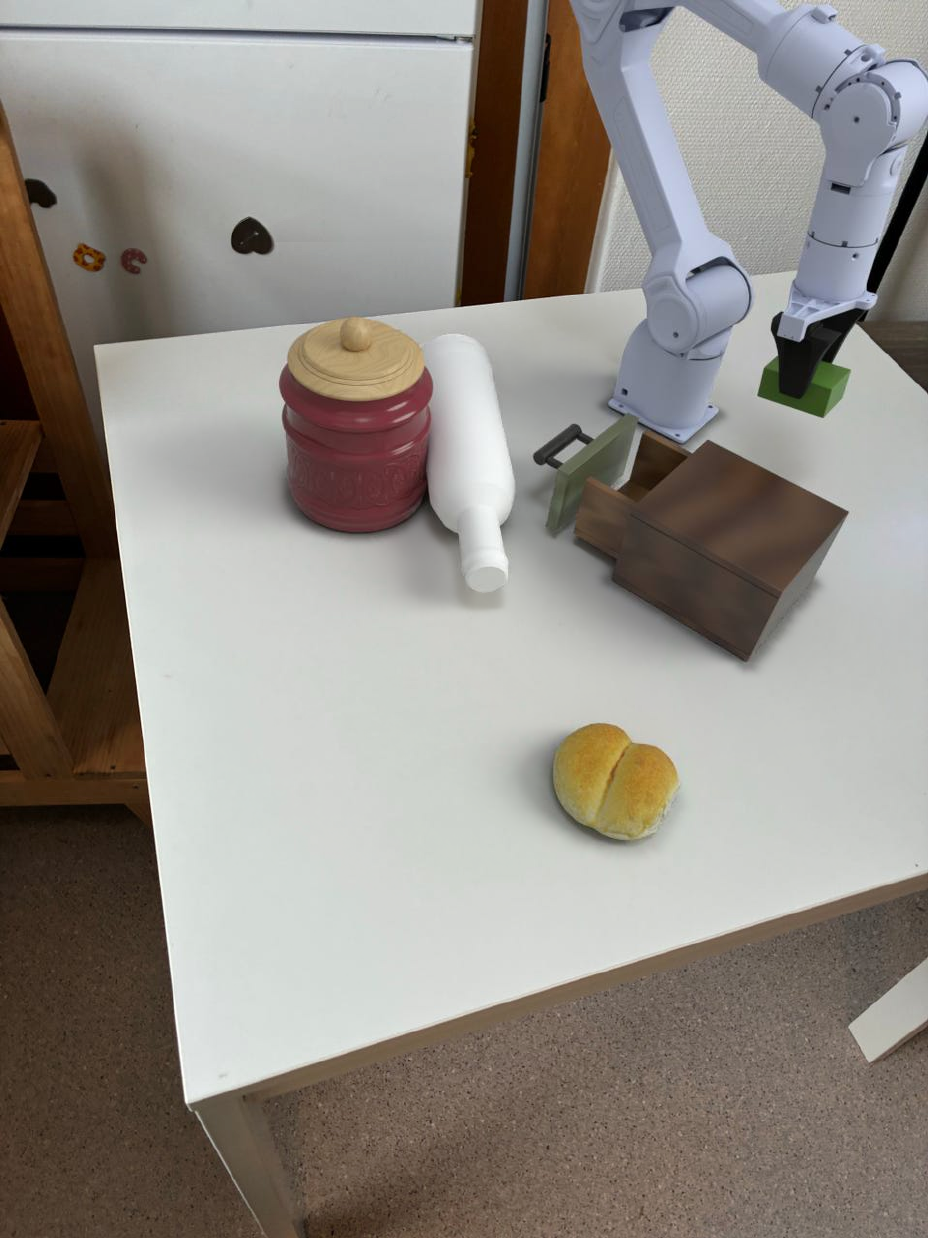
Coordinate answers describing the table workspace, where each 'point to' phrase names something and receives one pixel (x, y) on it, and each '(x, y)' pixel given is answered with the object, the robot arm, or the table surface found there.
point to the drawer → (605, 479)
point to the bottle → (469, 457)
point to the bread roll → (614, 782)
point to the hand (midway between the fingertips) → (802, 383)
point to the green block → (819, 394)
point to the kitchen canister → (356, 424)
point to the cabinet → (726, 546)
